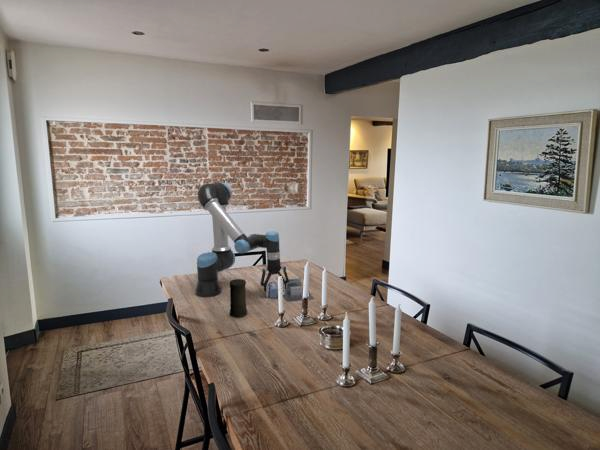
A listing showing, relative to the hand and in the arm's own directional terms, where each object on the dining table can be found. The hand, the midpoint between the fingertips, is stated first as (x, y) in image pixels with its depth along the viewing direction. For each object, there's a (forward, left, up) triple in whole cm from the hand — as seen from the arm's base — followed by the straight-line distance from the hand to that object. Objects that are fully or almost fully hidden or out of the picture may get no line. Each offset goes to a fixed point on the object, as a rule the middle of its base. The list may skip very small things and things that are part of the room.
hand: (275, 295), depth 230 cm
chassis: (0, +12, -1) cm, 12 cm away
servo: (0, -2, -1) cm, 2 cm away
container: (+20, -24, -1) cm, 32 cm away
